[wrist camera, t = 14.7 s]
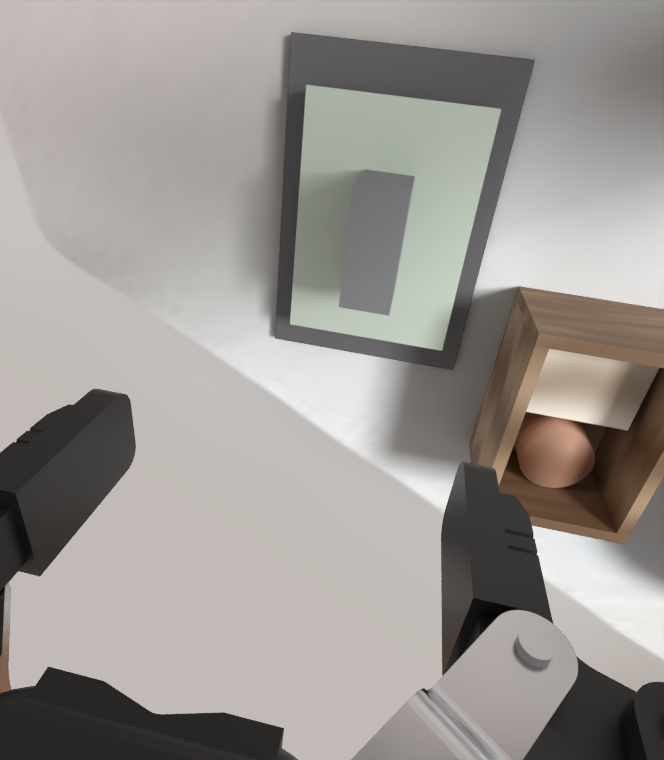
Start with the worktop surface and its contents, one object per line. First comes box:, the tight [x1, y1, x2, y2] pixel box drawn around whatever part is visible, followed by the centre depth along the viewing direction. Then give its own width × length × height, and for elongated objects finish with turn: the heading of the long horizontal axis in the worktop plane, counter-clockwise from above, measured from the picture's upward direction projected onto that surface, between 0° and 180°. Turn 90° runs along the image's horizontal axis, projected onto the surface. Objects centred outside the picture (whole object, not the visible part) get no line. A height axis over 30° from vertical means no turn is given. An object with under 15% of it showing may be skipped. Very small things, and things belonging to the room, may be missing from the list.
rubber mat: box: [275, 32, 535, 370], centre depth 34 cm, size 20×14×1 cm
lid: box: [290, 85, 501, 351], centre depth 31 cm, size 15×11×7 cm
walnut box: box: [470, 287, 664, 544], centre depth 34 cm, size 14×10×8 cm
